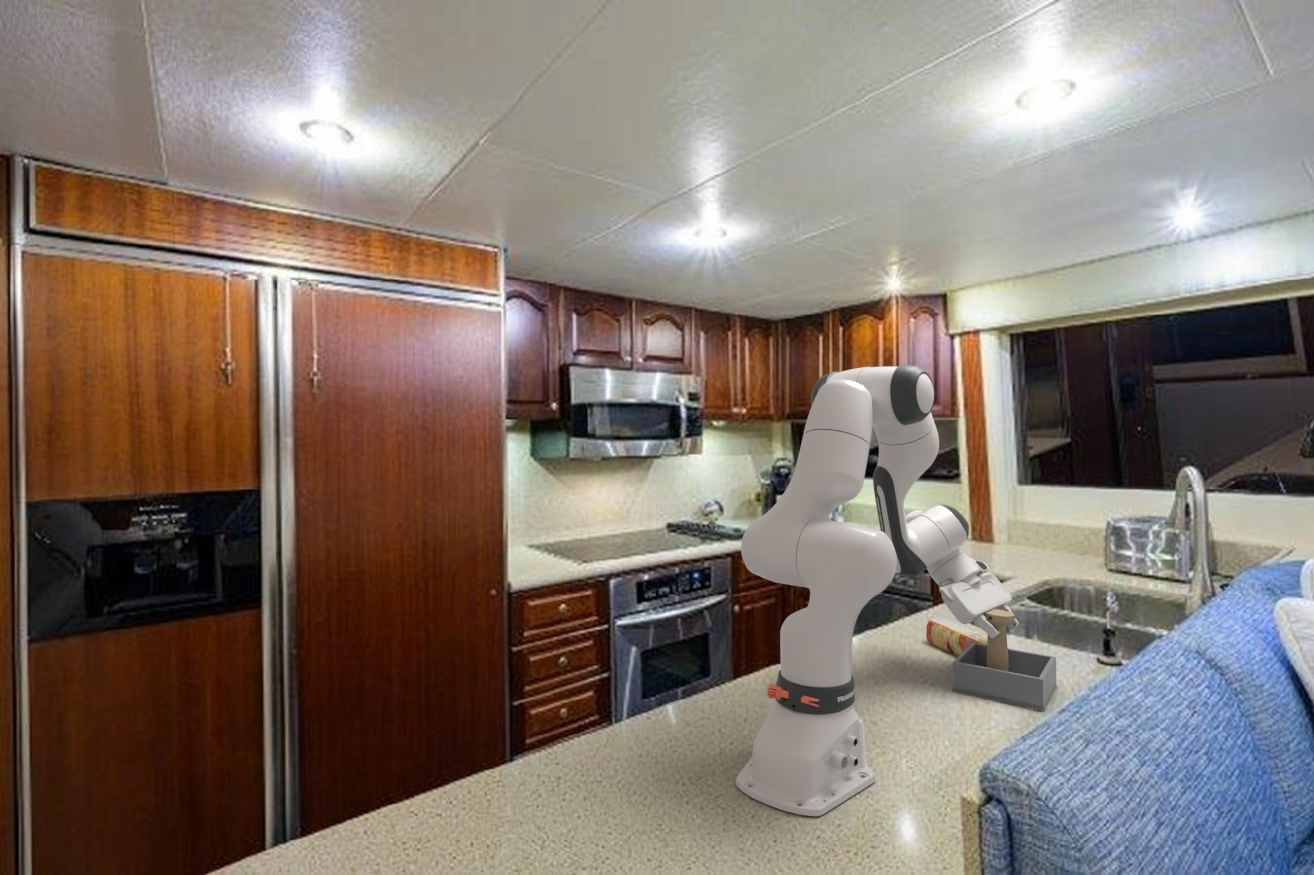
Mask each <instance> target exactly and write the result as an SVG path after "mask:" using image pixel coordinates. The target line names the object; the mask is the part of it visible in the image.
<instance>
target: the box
mask: <svg viewBox="0 0 1314 875" xmlns="http://www.w3.org/2000/svg"><path fill="white" fill-rule="evenodd" d="M1008 660H1009V662H1008V663H1009V665H1008V666H1009V667H1008V671H1002V670H997V669H992V668H987V645H985V644H979V643H974V642H972V643H971V644H970V645H969V646H968V647H967V648H966V649H965V650H964V651H963V652H962V653H961V654H960V655H959V656H957V657H956V658H955V659H954V660H953V661H952V692H954V693H958V694H962V695H966V696H972V697H976V698H980V699H983V700H990V701H992V702H993V701H994V702H999V703H1001V704H1003V703H1004V704H1008V705H1012V706H1017V707H1020V708H1025V707H1027V708H1026V709H1029V708H1033V709H1032V710H1034V709H1037V710H1036V711H1038V710H1044V708H1045V707H1046V708H1047V706H1048V704H1047V703H1049V702H1048V701H1050V699H1051V697H1052V696H1053V694H1054V691H1055V689H1056V688H1057V657H1056V656H1053V655H1046V654H1040V653H1037V652H1029V651H1024V650H1019V649H1013V648H1008ZM1046 705H1047V706H1046ZM1028 707H1029V708H1028ZM1046 708H1045V709H1046ZM1044 711H1045V710H1044Z"/></svg>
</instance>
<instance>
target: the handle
mask: <svg viewBox="0 0 1314 875" xmlns="http://www.w3.org/2000/svg"><path fill="white" fill-rule="evenodd" d="M1011 612H1012V611H1011ZM1011 612H1008V611H1003V610H998V609H992V610H990V611H988V612H985V613H983V615H984V616H985V617H986V620H987V621H988V622H989V623H990V624H992V625H993V626H996V627H997V628H998V630H999V631H1000V634H999V635H998V636H997V637H995V638H991V637H990V636H989V635H988V634H987V637H988V640H987V668H992V669H997V670H1002V671H1008V667H1009V666H1008V665H1009V663H1008V662H1009V660H1008V649H1009V648H1008V638H1007V627H1008V626H1007V624H1009V623H1012V622H1013V621H1014V620H1015V619H1016V617H1015V613H1013V612H1012V613H1011Z"/></svg>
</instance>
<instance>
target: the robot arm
mask: <svg viewBox="0 0 1314 875" xmlns="http://www.w3.org/2000/svg"><path fill="white" fill-rule="evenodd" d="M810 403H811V404H810V405H811V407H810V409H809V412H808V416H807V419H806V421H805V422H806V423H805V425H804V430H803V435H802V439H801V445H800V449H799V453H798V456H797V460H796V464H795V468H794V472H793V474H792V477H791V480H790V482H789V483H788V485H787V487H786V489H785V490H784V492H783V494H782V495H781V496H780V498H779V499H778V501H776V503H775V504H774V505H773V506H772V507H771V508H770V509H769V510H768V511H767V512H766V513H764V514H763V515H762V516H760V517H759V518H756V519H755V520H753V521H751V523H750V524H749V525H748V526H747V527H746V529H745V531H744V532H743V536H742V538H741V545H740V552H741V557H742V560H743V564H744V565H745V568H746V569H747V570H748V571H749V572H750V573H751V574H753V575H756V576H759V577H761V578H762V579H765V580H768V581H770V582H773V583H776V584H783V585H790V586H795V587H802V588H807V589H809V601H808V603H807V604H808V605H807V606H806V607H803V608H801V609H799V610H797V611H795V612H793V613H791V614H790V615H788V616H787V617H786V618H785V620H784V621H783V623H782V625H781V628H780V632H779V634H780V636H779V638H780V640H779V642H780V645H779V646H780V649H779V650H780V670H778V673H777V678H776V682H775V684H772V683H771V684H769V685H768V687H767V689H766V694H767V695H766V696H767V697H768V698H770V699H775V700H774V702H773V704H772V706H771V708H770V709H769V712H768V713H767V715H766V717H765V719H764V721H763V723H762V726H760V730H759V731H758V733H757V735H756V737H755V739H754V741H753V746H752V754H751V758H750V759H749V760H748V762H747V763H746V764H745V765H744V767H743V768H742V769H741V771H740V772H739V773H738V774H737V777H736V778H735V786H736V787H737V788H738V789H739V790H740V791H741V792H742V793H744V794H745V795H747V796H749V797H750V798H752V799H754V800H756V801H758V802H760V803H762V804H765V805H768V806H769V807H773V808H776V809H779V810H781V811H784V812H787V813H792V814H795V815H800V816H806V817H808V816H809V817H820V816H823V815H825V814H826V813H828V812H829V811H832V809H834V808H836V807H837V806H839V805H840V804H842V803H843V802H845V801H847V800H849V799H850V798H851V797H853V796H855V795H856V794H858V793H859V792H861V791H863V790H864V789H866V788H867V787H869V786H871V785H872V784H874V783H875V782H876V780H877V779H876V778H877V777H876V773H875V771H874V770H873V769H872V768H871V767H869V766H868V761H867V749H866V737H865V735H866V734H865V726H864V722H863V720H862V718H861V717H860V715H859V714H858V712H857V710H856V708H855V705H854V704H855V701H856V684H855V677H854V675H853V673H852V658H853V656H852V655H853V654H852V652H853V638H854V637H853V635H854V631H855V626H856V623H857V620H858V617H859V616H860V614H861V611H862V610H863V609H864V607H865V606H866V605H867V604H868V603H869V602H870V601H871V599H873V598H875V597H876V596H877V595H879V594H881V593H882V592H884V591H885V590H886V589H887V588H888V586H890V584H891V582H892V581H893V579H894V578H895V575H899V576H903V577H909V578H917V577H918V576H919V575H921V574H922V573H923V572H925V571H926V570H927V572H928V574H929V577H931V579H932V580H933V581H934V582H935V584H936V585H938V591H939V592H940V594H941V599H942V601H943V602H944V604H945V605H946V607H947V609H948V610H949V611H950V612H951V613H952V615H953V617H955V619H956V620H957V621H958V622H959V623H961V624H962V625H968V624H970V623H973V624H974V625H975V626H976V627H977V628H979V629H981V630H982V631H984V632H985V633H986V634H987V636H988V635H989V636H990V637H991V638H995V637H997V636H998V635H999V634H1000V631H999V630H998V628H997V627H996V626H993V625H992V624H990V623H989V622H988V621H987V620H986V617H985V616H984V615H983V613H985V612H988V611H990V610H992V609H998V610H1003V611H1008V612H1011V613H1013V611H1012V610H1011V608H1010V607H1009V606H1008V605H1009V604H1010V603H1011V602H1012V601H1013V598H1012V595H1011V593H1010V592H1009V590H1008V589H1007V588H1006V587H1005V585H1003V583H1002V582H1001V581H1000V580H999V579H998V578H997V576H995V575H994V574H993V573H992V572H990V571H989V570H990V567H989V566H988V565H987V564H986V562H984V561H981V560H976V559H974V558H972V557H969V556H968V554H967V553H965V552H964V551H963V550H961V549H960V547H962V545H963V544H965V542H967V540H969V535H970V525H969V522H968V521H967V520H966V518H965V517H964V516H963V515H962V513H960V512H959V510H957V509H956V508H954V507H952V506H950V505H946V504H938V505H936V506H933V507H931V508H928V509H927V510H921V509H916V510H912V511H911V512H909V513H908V514H906V512H905V499H906V497H907V495H908V493H909V492H910V490H911V489H912V487H913V486H914V484H915V483H917V481H918V479H919V478H920V477H921V476H922V475H923V474H924V473H925V472H926V471H927V470H928V469H929V468H930V467H931V466H932V465H933V463H934V462H935V460H936V458H937V456H938V453H939V451H940V450H939V449H940V438H939V433H938V429H937V426H936V423H935V421H934V420H935V419H934V417H933V415H932V410H933V407H934V403H935V388H934V384H933V380H932V378H931V376H930V374H929V373H928V372H926V371H925V369H923V368H922V367H921V366H917V365H913V364H912V365H911V364H910V365H909V364H900V365H898V366H896V365H895V366H893V365H892V366H889V365H888V366H886V365H885V366H863V367H857V368H856V367H855V368H852V369H851V368H850V369H847V370H842V371H838V370H837V371H832V372H828V373H826V374H824V375H822V376H820V377H819V378H818V379H817V380H816V382H815V383H814V385H813V387H812V390H811V394H810ZM873 430H874V433H875V436H876V439H877V442H878V457H877V458H878V461H877V464H876V467H875V469H874V472H873V473H872V474H873V475H872V484H873V485H872V486H873V494H874V499H875V504H876V510H877V517H878V524H879V529H880V530H879V529H876V528H873V527H871V526H867V525H863V524H860V523H856V522H849V521H837V520H828V518H829V517H830V515H831V514H832V513H833V512H834V511H835V510H836V509H837V508H838V507H840V506H842V505H844V504H846V503H849V502H850V501H852V500H854V499H855V498H856V497H857V496H858V495H859V494H860V492H861V490H862V488H863V486H864V481H865V476H866V470H867V466H868V460H869V459H868V458H869V453H870V448H871V447H870V446H871V441H872V434H873ZM1019 625H1020V622H1019V621H1018V620H1017V618H1015V620H1014V621H1013V622H1012V623H1009V624H1007V627H1008V628H1009V629H1010V630H1013V629H1015V628H1016V627H1017V626H1019Z"/></svg>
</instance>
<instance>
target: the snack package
mask: <svg viewBox="0 0 1314 875" xmlns="http://www.w3.org/2000/svg"><path fill="white" fill-rule="evenodd" d="M925 628H926V632H925V633H926V634H925V636H926V640H927V642H928V644H931V645H933V646H935V647H937V648H940V649H942V650H943V651H946V652H948V653H950V654H953V655H954V656H957V657H958V656H959V655H960V654H961V653H962V652H963V651H964V650H965V649H966V648H967V647H968V646H969V645H970V644H971V643H972V642H974V643H979V644H985V645H987V640H988V636H986V635H985V634H982V633H979V632H977V631H974V630H972V629H969V628H967V627H964V626H962V625H960V624H957V623H955V622H953V621H952V620H949V619H947V618H944V617H933V618H931V619H930V620H928V621H927V623H926V627H925Z"/></svg>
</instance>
